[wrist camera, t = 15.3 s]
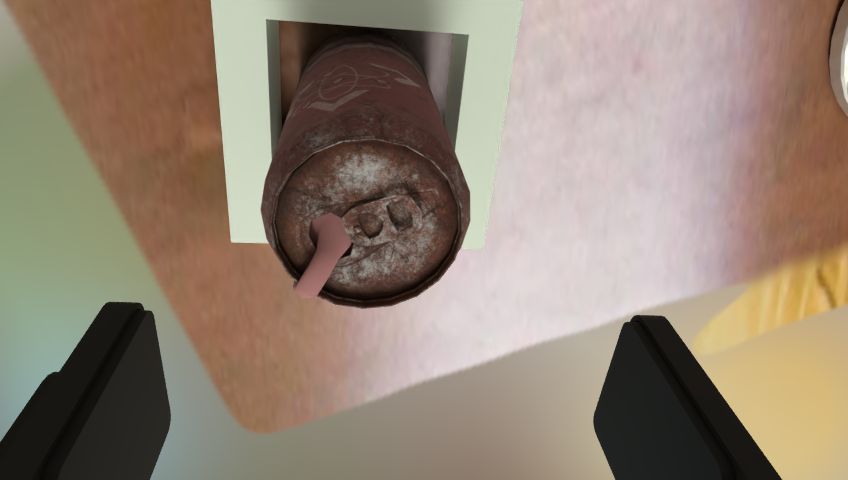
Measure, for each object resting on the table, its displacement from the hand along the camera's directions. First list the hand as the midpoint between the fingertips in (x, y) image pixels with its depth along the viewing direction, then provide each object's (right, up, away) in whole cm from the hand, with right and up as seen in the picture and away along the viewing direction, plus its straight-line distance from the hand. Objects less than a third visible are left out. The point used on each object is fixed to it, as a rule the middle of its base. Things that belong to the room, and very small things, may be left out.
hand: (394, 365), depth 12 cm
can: (-2, +10, +17) cm, 20 cm away
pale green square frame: (-2, +9, +17) cm, 19 cm away
